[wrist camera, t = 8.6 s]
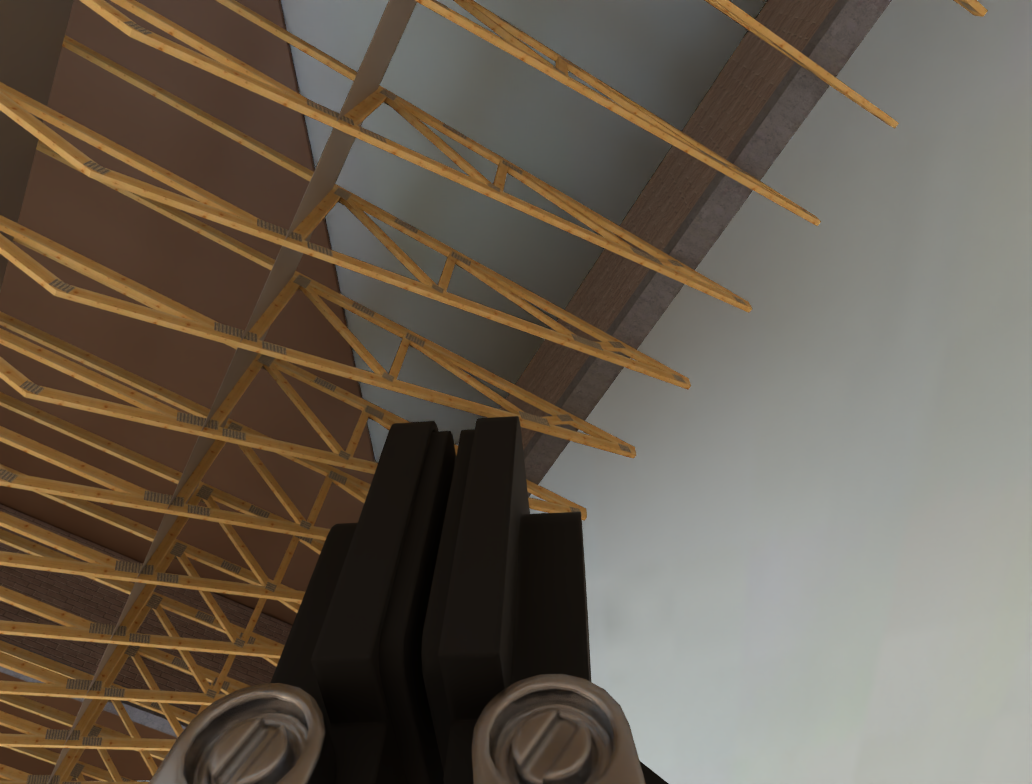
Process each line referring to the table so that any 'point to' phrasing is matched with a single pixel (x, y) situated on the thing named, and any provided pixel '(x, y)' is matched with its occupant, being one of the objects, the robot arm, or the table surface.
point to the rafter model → (534, 398)
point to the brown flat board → (189, 281)
